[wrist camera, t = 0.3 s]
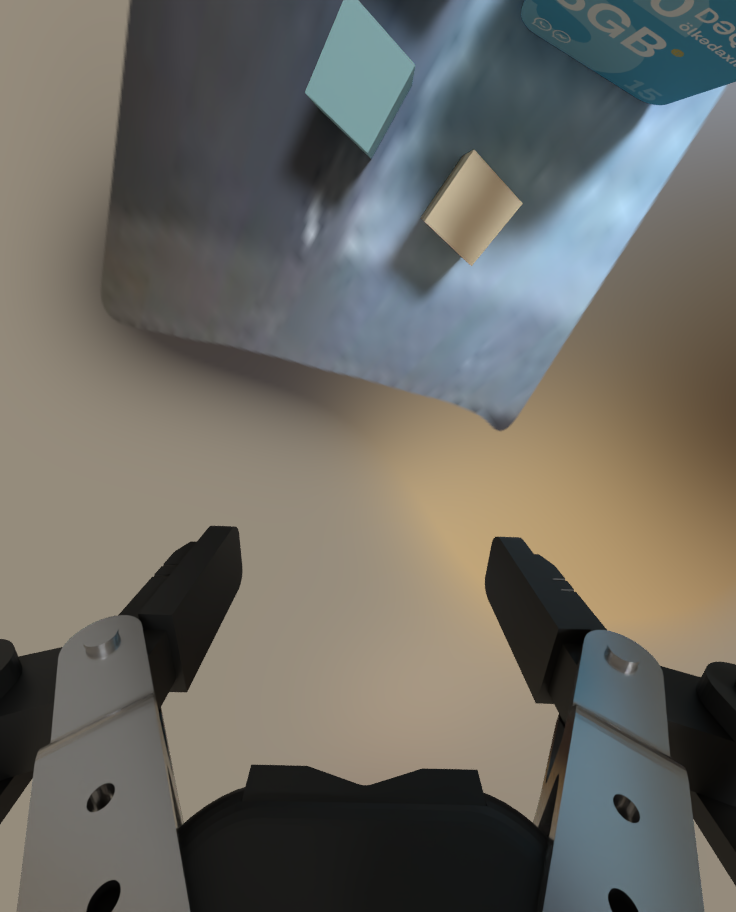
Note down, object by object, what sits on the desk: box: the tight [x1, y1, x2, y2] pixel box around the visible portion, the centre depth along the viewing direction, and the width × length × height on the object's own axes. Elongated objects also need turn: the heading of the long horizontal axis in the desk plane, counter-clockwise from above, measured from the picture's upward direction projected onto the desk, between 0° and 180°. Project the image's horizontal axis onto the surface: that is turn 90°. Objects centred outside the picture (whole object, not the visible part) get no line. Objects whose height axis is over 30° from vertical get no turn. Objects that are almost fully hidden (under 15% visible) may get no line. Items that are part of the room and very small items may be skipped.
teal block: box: [305, 0, 415, 159], centre depth 23 cm, size 5×5×5 cm
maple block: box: [421, 150, 523, 266], centre depth 27 cm, size 5×5×5 cm
